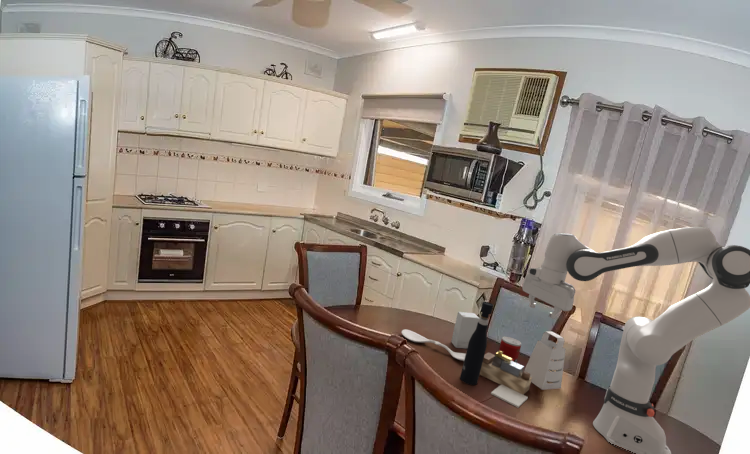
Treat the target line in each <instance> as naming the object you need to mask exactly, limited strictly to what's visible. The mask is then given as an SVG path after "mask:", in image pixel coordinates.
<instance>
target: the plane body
mask: <svg viewBox="0 0 750 454" xmlns="http://www.w3.org/2000/svg"><path fill="white" fill-rule="evenodd" d="M503 360H504V359H501V358H499V357H497V356H495V354H494V353H491V352H489V351H488V352H486V353H485V355H484V359H483V363H482V367H481V370H480V374H479V376H482V377H484V378H487V379H488V380H490V381H492V382H495V383H496V384H498V385H499V386H500V385H501V384H502V385H504V386H506V387H508V388H510V389H513V390H515V391H517V392H519V393H521V394H523V395H525V394H526V393H527V392H528V391H529V390H530V387H531V384H532V382H531V380H532V377H530V375H531V374H530V373H528V372H526V371H524V370H523V372H522V375H520V376H519V377H516V376H514V375H512V374H509V373H507V372H505V371H503V370H501V369H500V367H501V363H502V361H503Z"/></svg>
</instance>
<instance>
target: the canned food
mask: <svg viewBox="0 0 750 454" xmlns="http://www.w3.org/2000/svg"><path fill="white" fill-rule="evenodd" d="M521 348H522V342H521V341H520V340H518V339H516V338H514V337H510V336H502V338H501V341H500V344H499V348H498V351H502V352H503V355H506V356H508V357H510V358H512V361H513V362H516V363H518V359H519V355H520V351H521Z"/></svg>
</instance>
